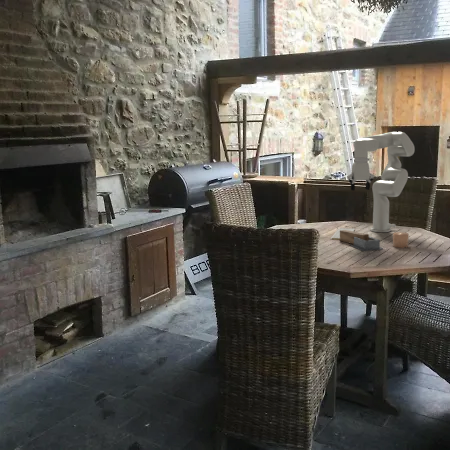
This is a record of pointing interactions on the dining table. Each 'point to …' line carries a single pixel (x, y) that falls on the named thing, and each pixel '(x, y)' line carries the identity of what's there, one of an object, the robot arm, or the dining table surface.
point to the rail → (352, 236)
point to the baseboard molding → (337, 233)
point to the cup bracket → (366, 244)
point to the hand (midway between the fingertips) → (360, 189)
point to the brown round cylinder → (400, 239)
